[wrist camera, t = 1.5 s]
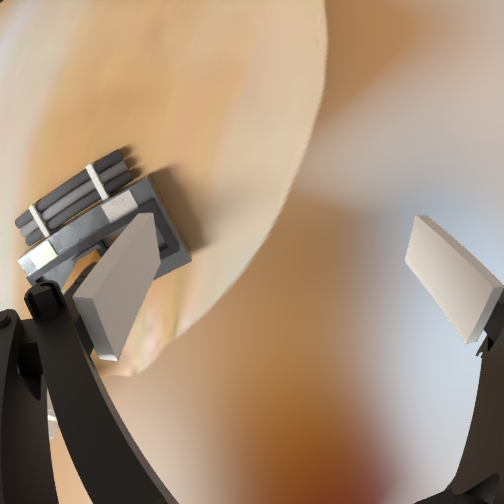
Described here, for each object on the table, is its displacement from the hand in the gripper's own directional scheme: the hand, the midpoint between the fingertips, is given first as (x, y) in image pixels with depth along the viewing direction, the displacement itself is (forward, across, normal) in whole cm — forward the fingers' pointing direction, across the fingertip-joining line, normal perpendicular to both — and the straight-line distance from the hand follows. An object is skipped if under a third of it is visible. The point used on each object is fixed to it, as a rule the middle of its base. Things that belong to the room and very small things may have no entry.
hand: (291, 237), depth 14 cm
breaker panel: (+20, -22, -11) cm, 32 cm away
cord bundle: (+19, -25, -3) cm, 32 cm away
